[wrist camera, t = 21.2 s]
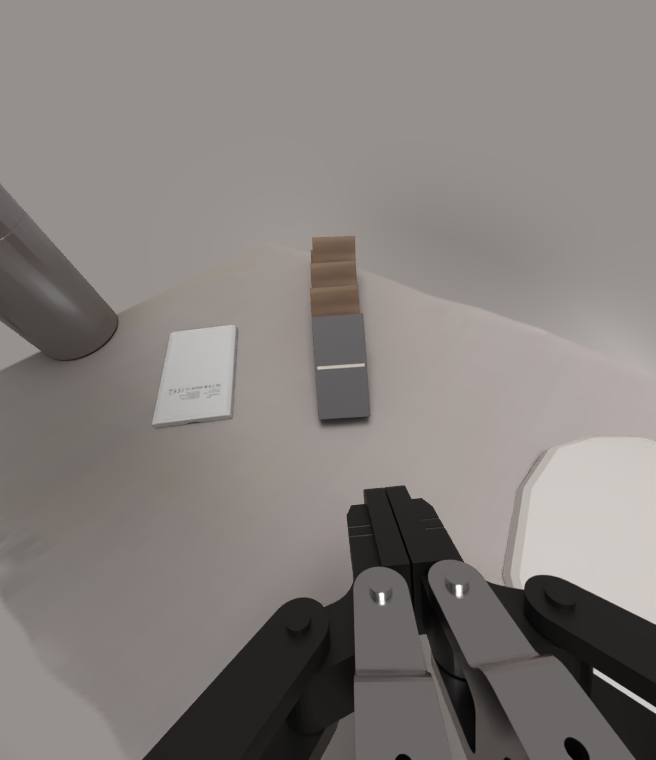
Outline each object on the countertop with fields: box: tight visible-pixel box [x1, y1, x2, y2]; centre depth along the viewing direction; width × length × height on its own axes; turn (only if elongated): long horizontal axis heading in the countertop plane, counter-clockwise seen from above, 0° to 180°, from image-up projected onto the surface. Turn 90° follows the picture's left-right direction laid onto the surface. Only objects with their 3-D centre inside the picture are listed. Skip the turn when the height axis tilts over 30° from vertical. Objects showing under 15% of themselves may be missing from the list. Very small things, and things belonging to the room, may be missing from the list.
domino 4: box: [312, 314, 370, 420], centre depth 31 cm, size 2×5×10 cm
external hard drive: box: [152, 325, 238, 428], centre depth 36 cm, size 2×8×12 cm
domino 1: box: [312, 236, 356, 263], centre depth 38 cm, size 2×5×10 cm
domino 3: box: [310, 285, 360, 317], centre depth 33 cm, size 2×5×10 cm
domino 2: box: [310, 261, 357, 288], centre depth 36 cm, size 2×5×10 cm
